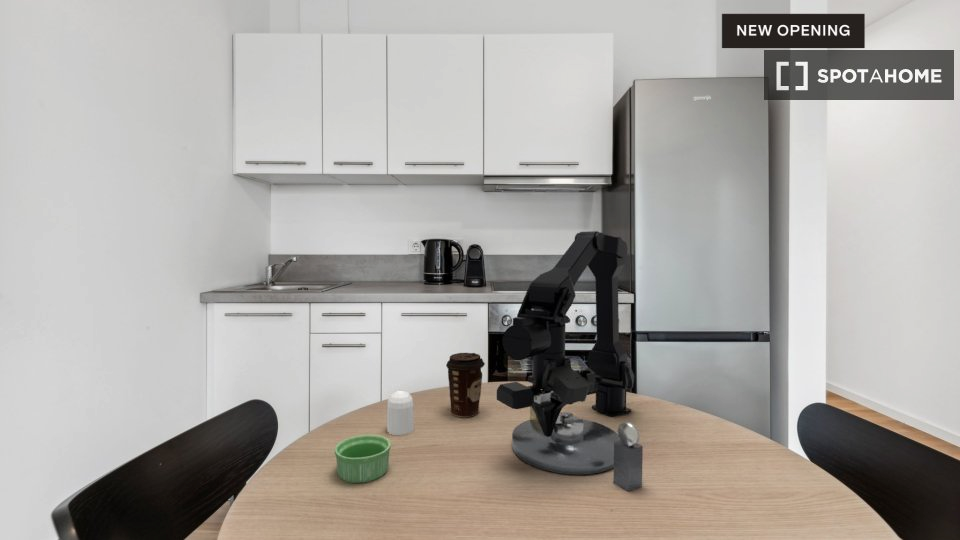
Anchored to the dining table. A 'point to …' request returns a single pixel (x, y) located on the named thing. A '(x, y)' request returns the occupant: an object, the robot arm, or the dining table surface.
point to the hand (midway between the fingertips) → (547, 435)
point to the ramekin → (362, 458)
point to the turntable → (565, 448)
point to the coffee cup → (465, 383)
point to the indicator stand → (628, 458)
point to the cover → (568, 429)
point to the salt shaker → (400, 413)
